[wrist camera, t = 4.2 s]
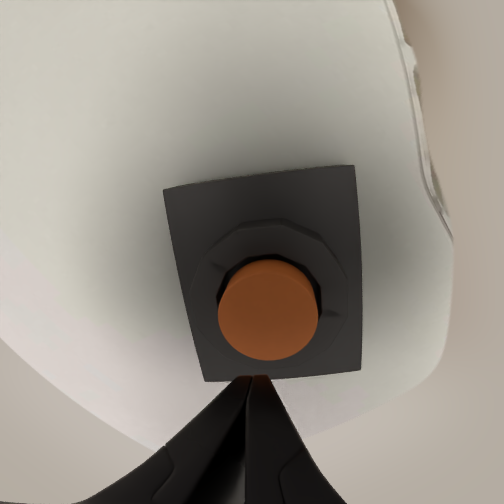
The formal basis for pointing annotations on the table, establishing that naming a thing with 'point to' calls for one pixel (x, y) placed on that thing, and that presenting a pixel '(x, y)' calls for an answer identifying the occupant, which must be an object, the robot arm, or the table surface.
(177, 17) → the table surface
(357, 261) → the orange push button base
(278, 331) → the power button
